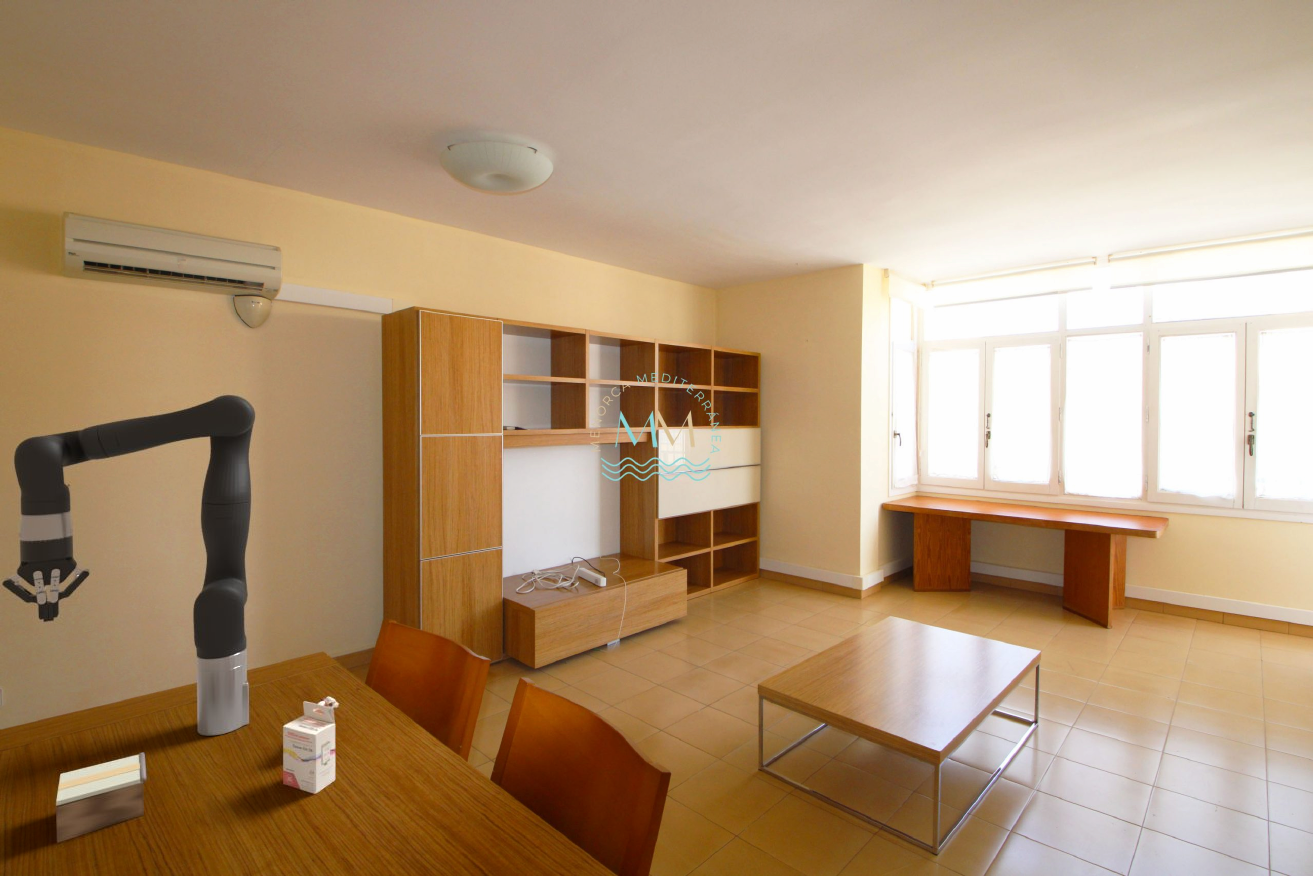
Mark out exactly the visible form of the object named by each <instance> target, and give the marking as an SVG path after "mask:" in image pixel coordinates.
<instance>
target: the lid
mask: <svg viewBox="0 0 1313 876" xmlns="http://www.w3.org/2000/svg"><path fill="white" fill-rule="evenodd" d="M146 767H147V766H146V755H145V752H140V753H138V754H135V755H131V756H126V757H123V758H119V759H115V760H112V761H108V762H103V763H99V764H95V765H91V766H87V767H82V768H79V769H76V770H71V771H68V772H63V773H60V776H59V783H58V788H57V796H56V802H55V807H56V806H57V805H61V804H65V803H68V802H72V801H76V800H79V799H83V798H87V797H90V796H94V795H98V794H101V793H105V792H109V791H112V790H116V789H120V788H123V787H127V786H131V785H134V784H138V783H142V782H143V783H144V782H146V781H147V768H146Z"/></svg>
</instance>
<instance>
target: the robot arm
mask: <svg viewBox="0 0 1313 876" xmlns="http://www.w3.org/2000/svg"><path fill="white" fill-rule="evenodd" d="M255 420H256V412H255V408H254V407H253V405H252V404H251V403H250V402H249V401H248V400H247V399H246V398H243V397H241V396H238V395H235V394H225V395H220V396H217V397H215V398H214V399H212V400H210V401H206V402H203V403H200V404H197V405H195V406H192V407H188V408H184V409H180V410H177V411H172V412H167V413H161V414H155V415H149V416H142V417H135V418H128V419H121V420H117V421H111V422H107V423H102V424H101V423H100V424H97V425H91V426H88V427H85V428H83V429H79V430H72V431H71V430H70V431H65V432H60V433H53V434H48V435H47V434H45V435H40V436H33V437H29V438H26V439H24V440H23V441H22V442H20V443H19V444H18V445H17V447H16V448H15V451H14V457H13V458H14V459H13V462H14V463H13V464H14V471H15V474H16V479H17V482H18V486H19V489H20V522H19V532H18V538H19V556H20V558H19V560H20V561H19V562H20V564H19V565H18V568H17V569H16V573H14V574H13V575H11V576H10V577H6V578H5V579H4V580H2V581H3V582H2V586H3V587H4V588H5V589H7V590H9V592H11V593H12V594H14V595H15V596H16V597H18V598H20V600H22V601H24V602H25V603H26V604H29V603H33V604H37V606H38V609H37V610H38V611H37V612H38V619H39V620H40V621H41V620H43V623H48V622H53V621H55V618H58V616H59V614H60V608H59V607H60V605H59V603H60V601H61V600H63V599H67V598H69V597H70V596H71V595H72V594H73V593H74V591H76V589H78V587H80V586H81V585H82V583H83V582H84V581H85V580H86V579H87V578H88V577H89V576H90V573H91V570H90V569H88V568H83V567H80V566H78V564H77V561H76V560H75V558H74V530H73V529H74V527H73V526H74V525H73V518H72V514H71V512H72V511H71V491H70V487H69V486H68V485H66V483H65V476H64V474H65V473H64V468H66V467H69V466H73V465H77V464H81V463H85V462H89V461H92V460H97V461H98V460H104V459H109V458H115V457H119V456H123V455H128V454H132V453H133V454H134V453H137V452H141V451H145V450H148V449H149V450H150V449H152V448H155V447H159V446H163V445H168V444H172V443H175V442H176V443H177V442H180V441H187V440H191V439H193V440H194V439H199V438H209V439H210V440H209V441H210V442H209V443H210V446H209V447H210V450H209V451H210V453H209V455H210V456H209V461H208V466H207V469H206V474H205V478H204V482H203V483H204V484H203V486H202V487H203V489H202V492H201V493H202V495H201V507H200V524H201V525H200V527H201V533H202V538H203V544H204V547H205V553H206V567H205V574H204V581H203V585H202V590H200V593H199V594H198V595H197V597H196V598H195V601H194V603H193V613H192V615H193V617H192V618H193V620H192V621H193V641H194V646H195V649H196V695H197V696H196V699H197V701H196V702H197V704H196V705H197V709H196V711H197V713H196V714H197V715H196V716H197V720H196V722H197V723H196V725H197V733H198V734H199V735H202V736H208V737H209V736H210V737H211V736H218V735H224V734H226V733H230V732H233V731H236V730H238V729H239V728H241V727H243V726H246V725H249V724H250V709H249V707H250V705H249V704H250V703H249V700H250V699H249V697H250V696H249V695H250V694H249V692H250V691H249V687H250V684H249V682H248V678H247V677H248V672H247V671H248V670H247V669H248V668H247V667H248V665H247V658H248V657H247V656H248V655H247V654H248V653H247V636H246V633H245V632H246V629H245V606H246V604H247V601H248V597H249V596H248V594H249V593H248V586H247V585H248V583H247V577H246V576H247V575H246V572H247V571H246V551H247V543H248V539H249V532H250V531H249V530H250V522H251V512H252V511H251V508H252V482H251V471H250V470H251V469H250V446H251V442H252V441H251V439H252V435H253V434H252V433H253V429H254V428H253V427H254V423H255ZM72 573H73V575H72V577H73V578H74V579H73V580H72V581H71V582H70V583H69V584H68V585H67V586H66V587H65V589H64V590H61V591H60V586H61V584H62V583H63V582H65V580H66V579H67V578H68V577H69V576H70V575H71V574H72ZM21 578H22V579H23V580H24V581H25V582H26V583H27V584H29V585H30V586H31V587H34V588H35V593H36V594H34V593H32V592H31V591H29V590H28V589H27V588H25V587H24V586H22V585H21V584H22V580H21ZM47 586H50V587H49V600H48V595H47Z"/></svg>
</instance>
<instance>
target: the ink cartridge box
mask: <svg viewBox="0 0 1313 876" xmlns="http://www.w3.org/2000/svg"><path fill="white" fill-rule="evenodd" d="M302 702H303V703H302V707H303V715H302V716H299V717H297V718H296V719H294V720H292V721H289V722H287V723H286V724H284V725H283V726H282V727H283V728H282V733H283V734H282V735H283V736H282V745H283V747H282V751H283V752H282V754H283V755H282V757H283V758H282V762H283V763H282V765H283V766H282V767H283V768H282V770H283V771H282V777H283V778H282V781H283V782H282V784H283V785H286V786H288V787H291V788H295V789H298V790H301V791H304V792H308V793H311V794H314V795H315V794H318V793H319V792H321V791H322V790H323V789H324V788H326V787H328V786H330V784H331V783H333V782H335V781H336V722H335V710H334V708H330V707H326V706H323V705H319V704H318V703H315V702H309V701H306V700H305V701H302ZM313 709H319V710H320V711H323V712H324V714H321V713H317V712H314V711H313Z"/></svg>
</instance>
